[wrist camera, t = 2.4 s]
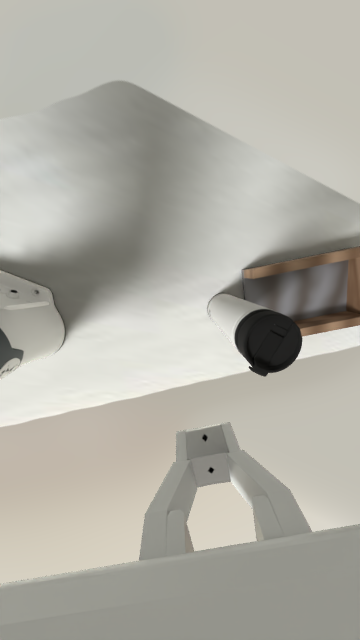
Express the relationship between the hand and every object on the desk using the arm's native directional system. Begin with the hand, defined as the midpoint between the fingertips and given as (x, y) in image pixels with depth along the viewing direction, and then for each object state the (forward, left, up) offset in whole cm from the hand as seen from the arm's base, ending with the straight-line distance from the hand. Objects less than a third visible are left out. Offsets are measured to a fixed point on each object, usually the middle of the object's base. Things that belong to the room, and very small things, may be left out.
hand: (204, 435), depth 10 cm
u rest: (+17, +17, -28) cm, 37 cm away
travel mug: (+6, +6, -28) cm, 29 cm away
